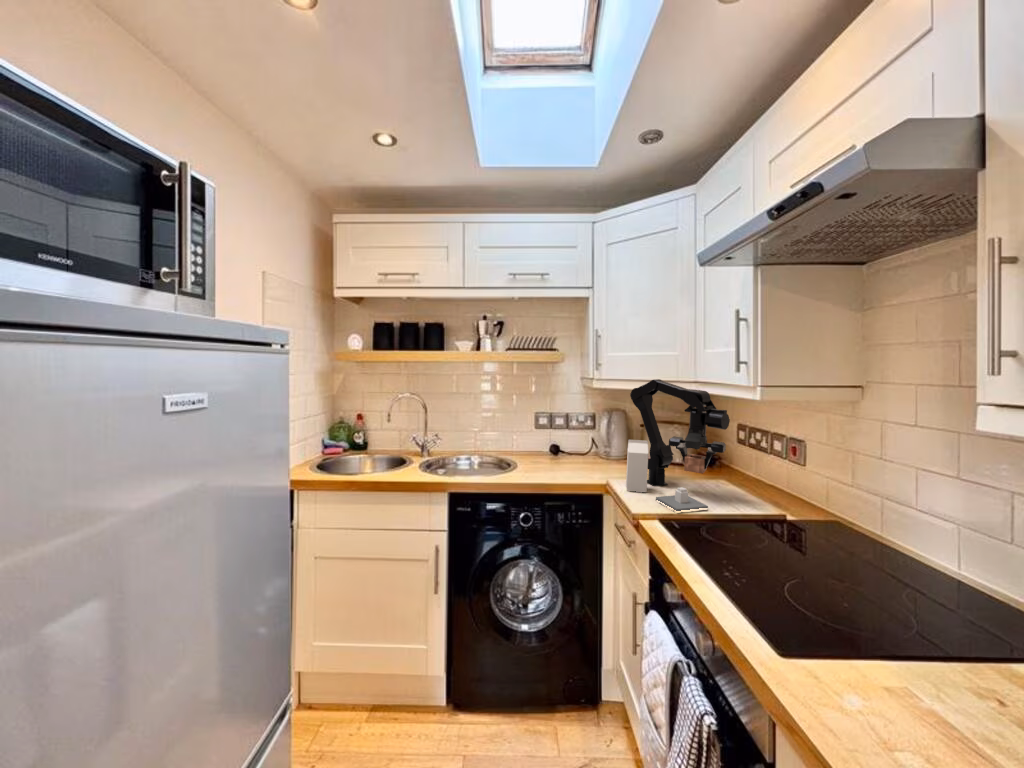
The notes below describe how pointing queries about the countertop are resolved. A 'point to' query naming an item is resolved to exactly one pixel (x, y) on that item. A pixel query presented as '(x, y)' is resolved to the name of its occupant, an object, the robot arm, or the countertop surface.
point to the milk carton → (637, 466)
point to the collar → (695, 463)
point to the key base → (680, 505)
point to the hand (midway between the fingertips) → (695, 467)
